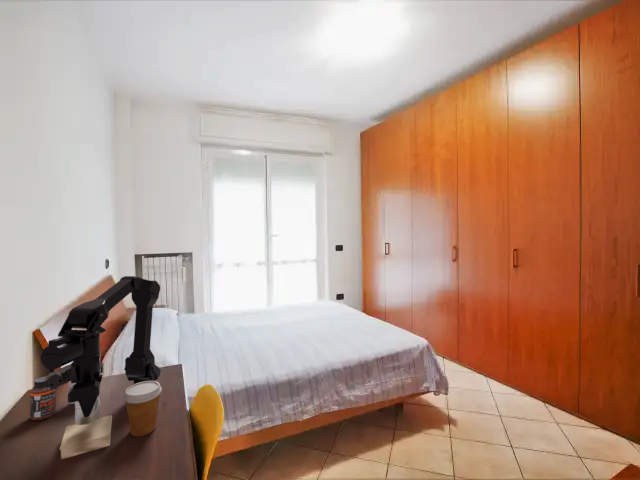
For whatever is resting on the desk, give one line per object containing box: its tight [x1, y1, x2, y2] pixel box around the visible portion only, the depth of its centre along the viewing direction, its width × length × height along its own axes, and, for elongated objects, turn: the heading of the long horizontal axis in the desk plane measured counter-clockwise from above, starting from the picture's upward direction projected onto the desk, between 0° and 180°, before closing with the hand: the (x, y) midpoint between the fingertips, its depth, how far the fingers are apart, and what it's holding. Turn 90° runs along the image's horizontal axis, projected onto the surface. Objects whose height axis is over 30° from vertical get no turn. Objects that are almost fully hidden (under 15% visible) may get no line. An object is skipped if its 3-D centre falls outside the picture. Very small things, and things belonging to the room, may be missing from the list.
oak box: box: [59, 415, 113, 460], centre depth 85 cm, size 10×10×3 cm
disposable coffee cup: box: [122, 380, 162, 437], centre depth 91 cm, size 10×10×12 cm
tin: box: [74, 385, 102, 425], centre depth 85 cm, size 6×6×8 cm
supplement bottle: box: [29, 376, 57, 421], centre depth 97 cm, size 6×6×11 cm
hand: (88, 411), depth 85 cm, fingers closed on tin, 5 cm apart
